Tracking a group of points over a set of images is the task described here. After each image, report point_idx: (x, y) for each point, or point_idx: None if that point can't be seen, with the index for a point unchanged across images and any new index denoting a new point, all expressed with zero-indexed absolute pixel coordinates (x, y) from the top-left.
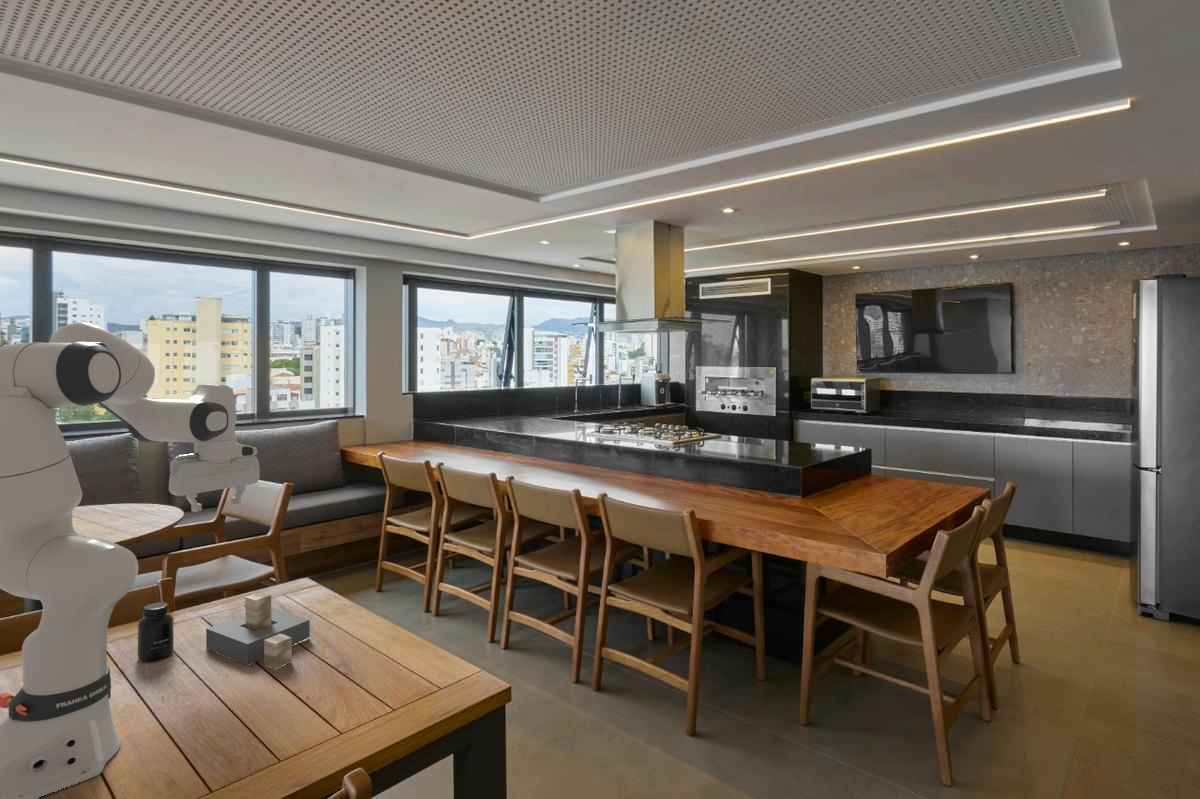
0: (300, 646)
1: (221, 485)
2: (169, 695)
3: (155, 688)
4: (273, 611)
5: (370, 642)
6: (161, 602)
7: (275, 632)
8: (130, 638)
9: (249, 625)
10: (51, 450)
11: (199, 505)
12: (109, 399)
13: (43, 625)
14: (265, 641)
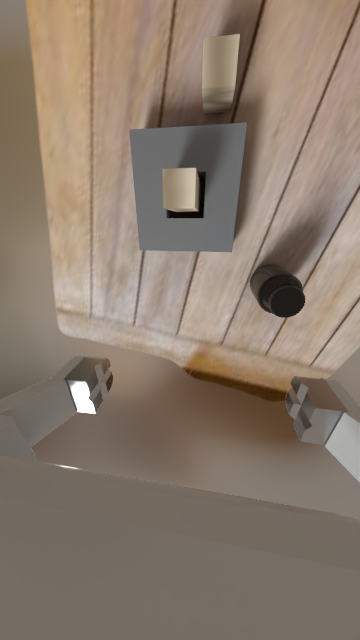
0: None
1: (163, 547)
2: (351, 144)
3: (337, 188)
4: (145, 225)
5: (84, 11)
6: (272, 309)
7: (192, 128)
8: (245, 344)
9: (198, 199)
10: None
11: (329, 403)
12: None
13: None
14: (235, 81)
